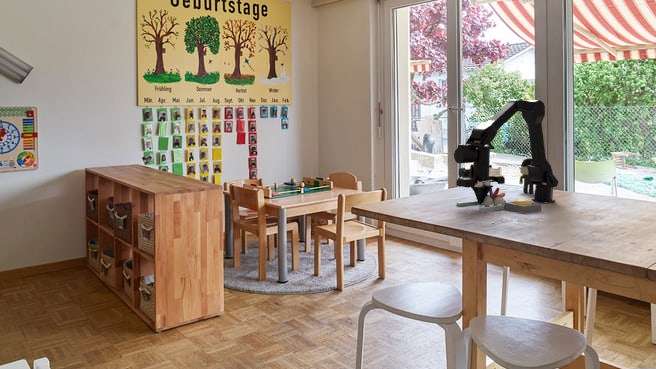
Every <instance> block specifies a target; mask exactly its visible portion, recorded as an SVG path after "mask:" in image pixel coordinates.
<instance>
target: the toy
mask: <svg viewBox="0 0 656 369" xmlns="http://www.w3.org/2000/svg"><path fill="white" fill-rule="evenodd" d="M531 162H532V157H529V158H525V159H523V160H522V162H521V164H520V168H519V169H520V174H521V176H520V177H519V185H523V187H522V188H523V189H522V190H523V193H524V194H527V193H529V194H533V193H535V188H534V186H535V185H532V182H531V179H530V177H529V176H528V169H527V166H530V165H531Z"/></svg>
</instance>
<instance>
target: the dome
mask: <svg viewBox="0 0 656 369" xmlns="http://www.w3.org/2000/svg"><path fill="white" fill-rule="evenodd" d="M513 201H514V204H518V205H523V206H524V205H532V202H533V201H532V199H525V198H524V199H523V198H522V199H521V198H519V199H513Z"/></svg>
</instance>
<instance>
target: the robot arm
mask: <svg viewBox="0 0 656 369" xmlns="http://www.w3.org/2000/svg"><path fill="white" fill-rule="evenodd" d="M545 106H546V105H545V103H544V101H542V100H539V99H538V100H537V99H534V100H532V99H531V100H530V99H529V100H528V99H527V100H523V99H520V98H513V99H512V98H511V99H510V100H508V101H507V103H506V104H505V105H504V106H502V108H501V109H500V110H499V111H497V112H496V113H495V114H494V115H493V116H492V117H490V119H488V120H487V121H485V122H483V123H481V124H479V125H477V126H476V127H474V128H473V129H471V134H469V137H468V139H467V140H466V142H465V143H464V144H461V143H460V144H457V148H456V149H455V151H454V153H453V158H454V161H455V162H456V163H457V164H458V165H459V164H470V166H469V167H470V168H468V169H466V167H461V168H458V178H457V180H456V183H455V185H456V187H460V188H461V187H462V188H466V189H467V188H471V189H472V190H473V192H474V195H475V198H476V200H477V201H478V204H477V205H483V204H482V203H483V201H484V199H485V198H486V196H487V194H488V195H489V191H490V189H491V188H492V189H493V188H494V185H492V184H491V183H497V184H498V185H503V184H505V183H506V182H505V181H506V178H505V177H504V175H501V174H490V169H492V168H493V165H492V164H490V162H491V160H490V159H491V158H490V157H491V155H490V154H491V150H495V149H496V147H495V146H494V145H493V144H492V142H493V140H494V139H495V137H497V134H498V132H499V130H500V128H502V126H504V125H505V124H506V123H507V122H508V121H509V120H510V119H511V118H512V117H513V116H514V115H516V114H517V113H518V112H519V113H521V117H522V119H523V121H525V123H526V124H527V129H528V138H529V146H530V153H531V158H532V162H531V165H530V166H527V169H528V176H529V177H530V179H531V182H532V185H534V186H535V188H534V198H532V199H531V201H532V202H537V203H542V204H544V203H553V202H554V203H555V202H556V199H553V196H554V195H553V194H554V188H557V187H558V185H559V180H558V178H556V176H555V175H554V173H553V172H554V171H553V169H552V165H551V164H550V162H549V161H548V160H547V157H546V148H545V140H544V133H543V123H542V122H543V120H544V118H545V116H546V107H545ZM472 163H473V164H472Z"/></svg>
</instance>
